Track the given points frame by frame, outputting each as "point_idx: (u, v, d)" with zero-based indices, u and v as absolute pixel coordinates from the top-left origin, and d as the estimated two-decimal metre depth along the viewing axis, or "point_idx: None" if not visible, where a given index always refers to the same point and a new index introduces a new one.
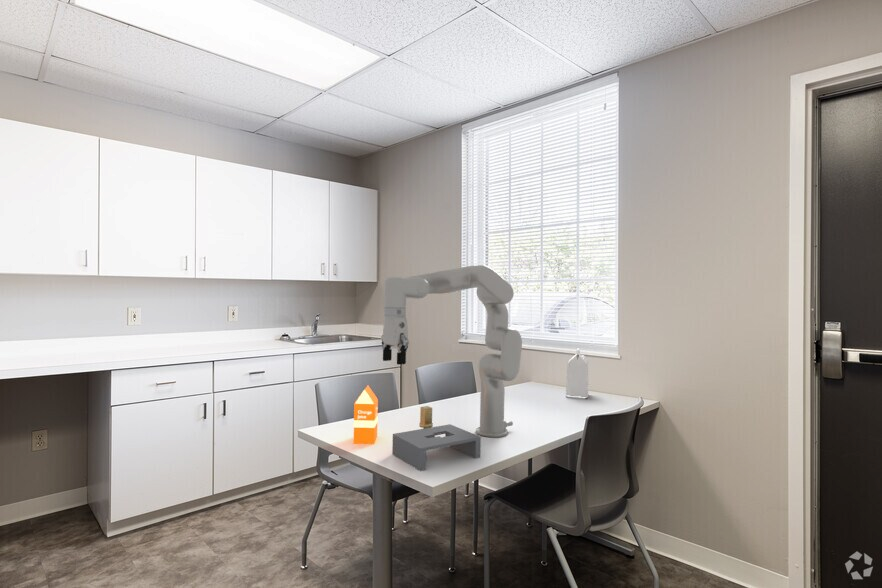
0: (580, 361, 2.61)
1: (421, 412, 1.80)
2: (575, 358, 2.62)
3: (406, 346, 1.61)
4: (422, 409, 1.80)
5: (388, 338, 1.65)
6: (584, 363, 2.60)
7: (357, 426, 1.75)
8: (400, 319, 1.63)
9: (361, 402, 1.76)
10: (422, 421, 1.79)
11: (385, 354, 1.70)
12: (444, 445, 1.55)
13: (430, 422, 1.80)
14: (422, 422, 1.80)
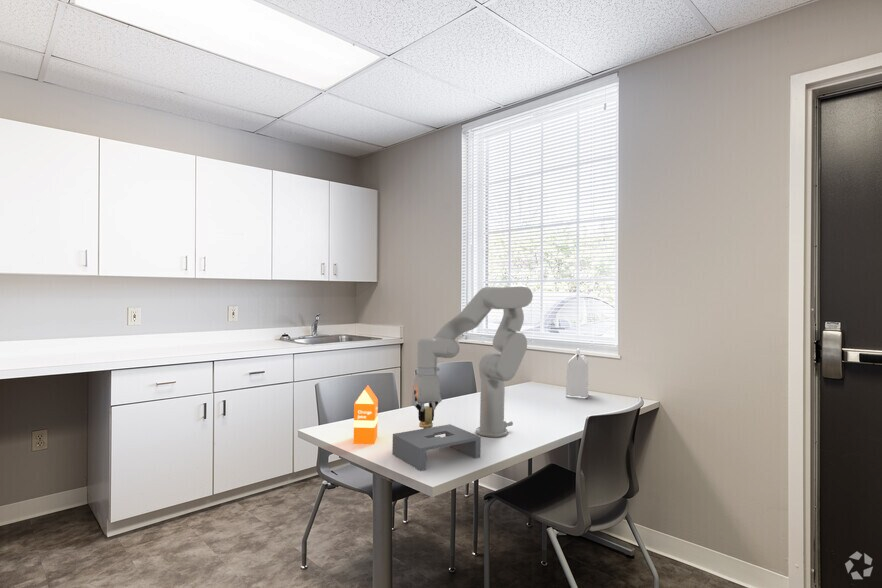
0: (580, 361, 2.61)
1: None
2: (575, 358, 2.62)
3: None
4: None
5: (430, 396, 1.79)
6: (584, 363, 2.60)
7: (357, 426, 1.75)
8: None
9: (361, 402, 1.76)
10: None
11: None
12: (444, 445, 1.55)
13: (430, 422, 1.80)
14: (422, 422, 1.80)
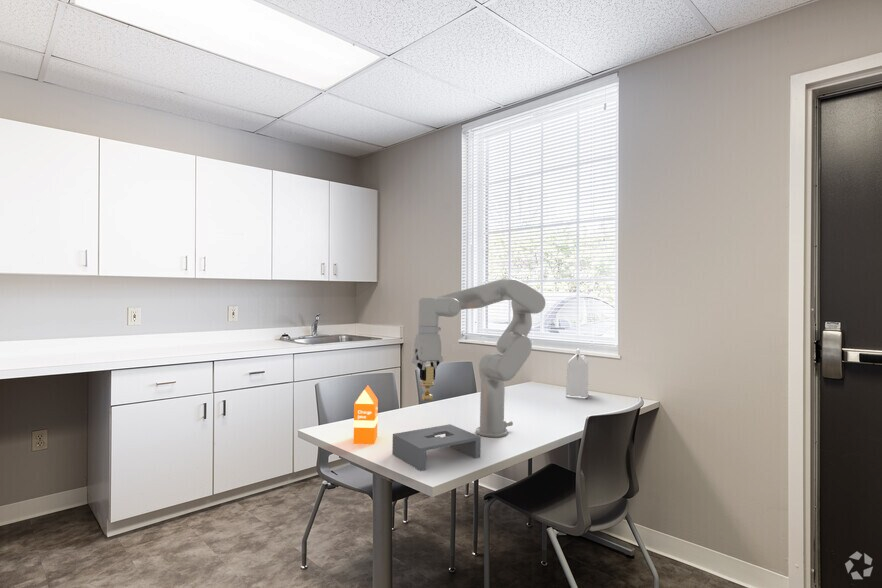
0: (580, 361, 2.61)
1: None
2: (575, 358, 2.62)
3: None
4: None
5: (431, 354, 1.78)
6: (584, 363, 2.60)
7: (357, 426, 1.75)
8: None
9: (361, 402, 1.76)
10: None
11: None
12: (444, 445, 1.55)
13: (431, 381, 1.79)
14: (423, 381, 1.79)
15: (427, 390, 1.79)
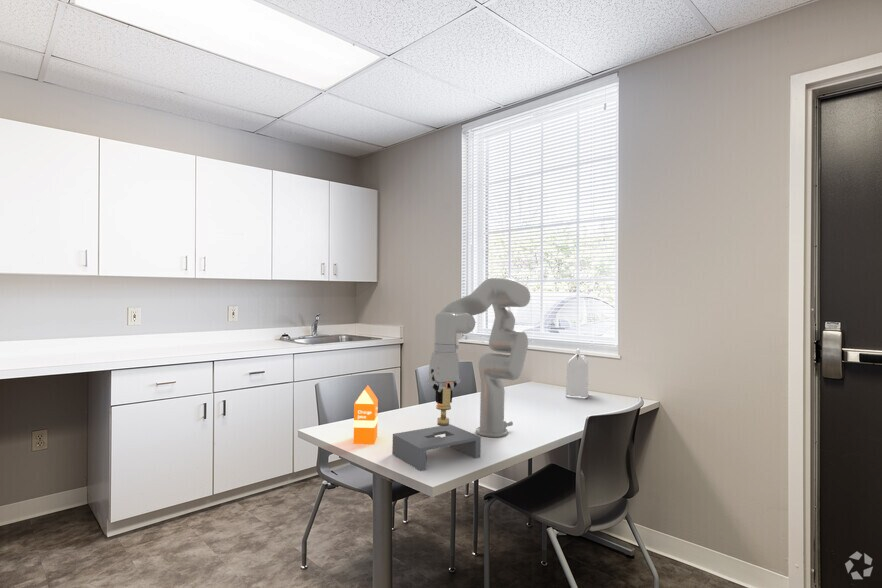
0: (580, 361, 2.61)
1: None
2: (575, 358, 2.62)
3: None
4: None
5: (448, 375, 1.63)
6: (584, 363, 2.60)
7: (357, 426, 1.75)
8: None
9: (361, 402, 1.76)
10: None
11: None
12: (444, 445, 1.55)
13: (448, 404, 1.64)
14: (439, 404, 1.64)
15: (443, 414, 1.64)
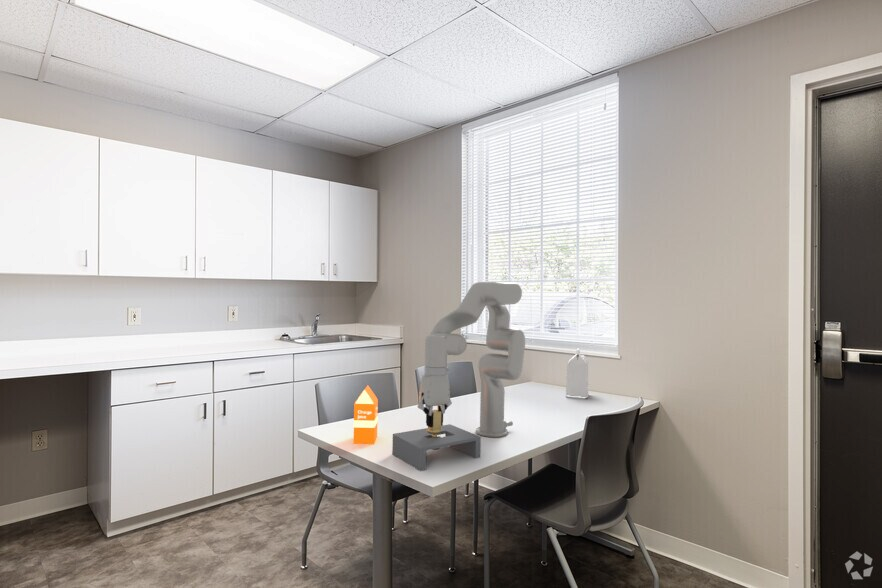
0: (580, 361, 2.61)
1: None
2: (575, 358, 2.62)
3: None
4: None
5: (439, 398, 1.61)
6: (584, 363, 2.60)
7: (357, 426, 1.75)
8: None
9: (361, 402, 1.76)
10: None
11: None
12: (444, 445, 1.55)
13: (439, 427, 1.63)
14: (430, 427, 1.62)
15: None
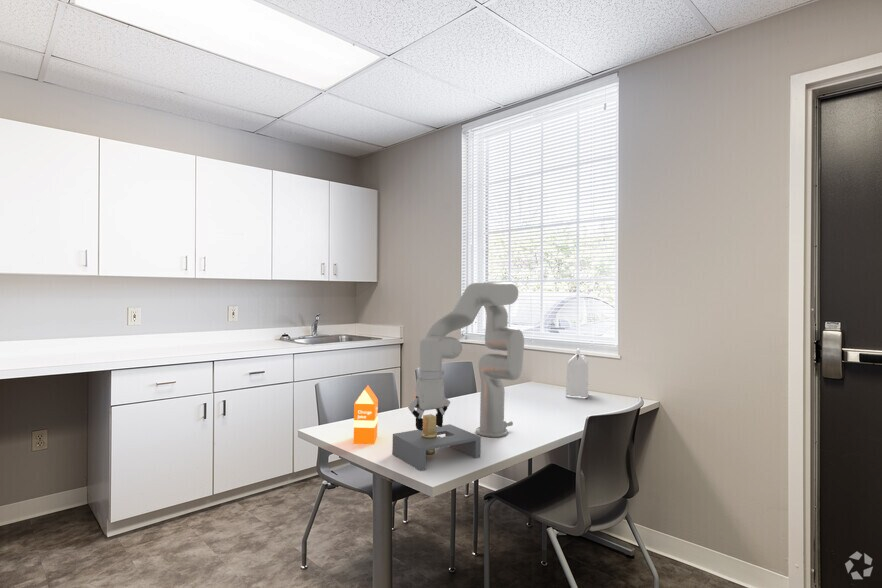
0: (580, 361, 2.61)
1: (424, 421, 1.62)
2: (575, 358, 2.62)
3: None
4: (425, 418, 1.61)
5: (433, 402, 1.60)
6: (584, 363, 2.60)
7: (357, 426, 1.75)
8: None
9: (361, 402, 1.76)
10: (425, 431, 1.61)
11: None
12: (444, 445, 1.55)
13: (434, 432, 1.61)
14: (425, 432, 1.61)
15: None
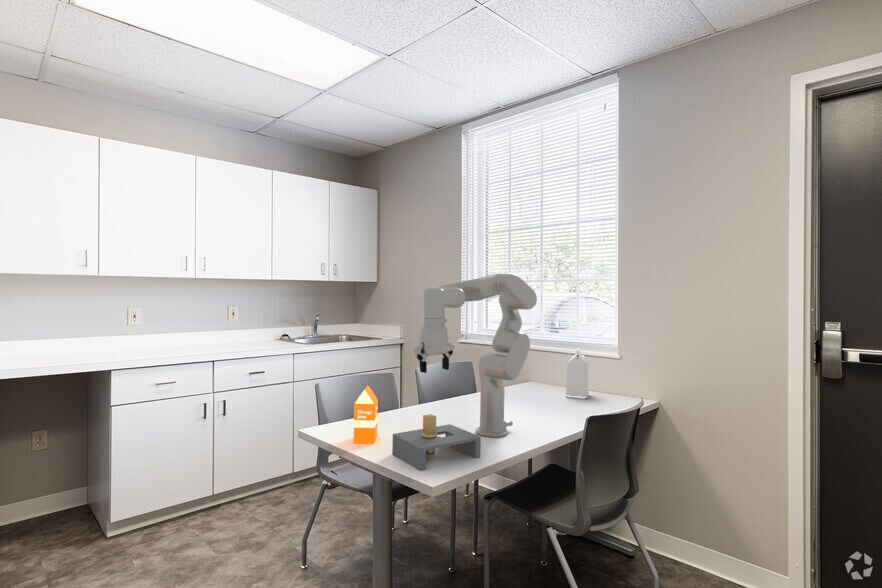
0: (580, 361, 2.61)
1: (424, 421, 1.62)
2: (575, 358, 2.62)
3: None
4: (425, 418, 1.61)
5: (438, 348, 1.70)
6: (584, 363, 2.60)
7: (357, 426, 1.75)
8: None
9: (361, 402, 1.76)
10: (425, 431, 1.61)
11: None
12: (444, 445, 1.55)
13: (434, 432, 1.61)
14: (425, 432, 1.61)
15: None
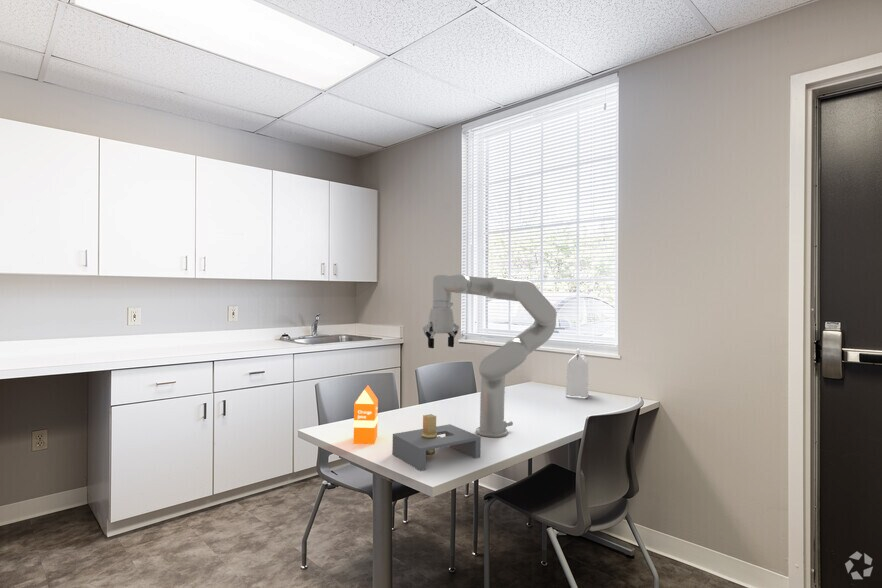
0: (580, 361, 2.61)
1: (424, 421, 1.62)
2: (575, 358, 2.62)
3: None
4: (425, 418, 1.61)
5: (444, 327, 1.94)
6: (584, 363, 2.60)
7: (357, 426, 1.75)
8: None
9: (361, 402, 1.76)
10: (425, 431, 1.61)
11: None
12: (444, 445, 1.55)
13: (434, 432, 1.61)
14: (425, 432, 1.61)
15: None
